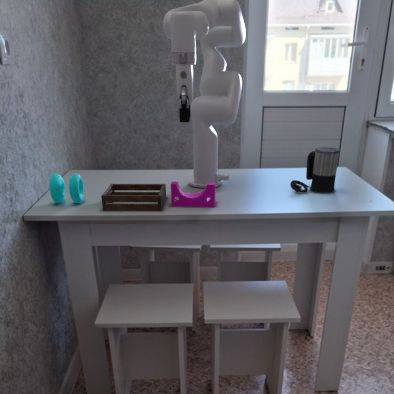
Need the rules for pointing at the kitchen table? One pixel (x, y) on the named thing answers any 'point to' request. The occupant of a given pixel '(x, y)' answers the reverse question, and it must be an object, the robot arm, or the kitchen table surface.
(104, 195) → the crate
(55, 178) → the donuts
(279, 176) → the kitchen table surface
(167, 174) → the kitchen table surface
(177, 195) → the magenta cradle bracket
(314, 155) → the milk frother
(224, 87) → the robot arm
